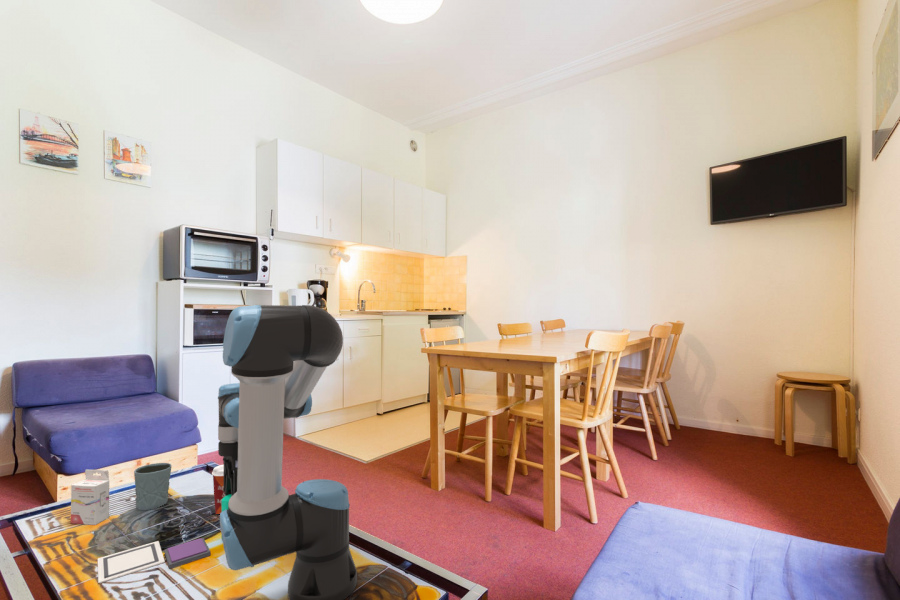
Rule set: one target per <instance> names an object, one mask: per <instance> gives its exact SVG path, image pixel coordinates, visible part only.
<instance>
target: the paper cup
mask: <svg viewBox="0 0 900 600" xmlns="http://www.w3.org/2000/svg"><path fill="white" fill-rule="evenodd" d="M211 475H212V478H213V479H212V480H213V481H212V483H213V496H214V497H213V499H214V500H213V501H214V510H215V511H214V512H215V515H216V514H220V513H221V512H222V499H223V497H225V492H224V491H223V489H224V464H220V465H217V466H215V467H214V468H213V470H212V472H211Z"/></svg>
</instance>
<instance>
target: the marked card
mask: <svg viewBox="0 0 900 600" xmlns="http://www.w3.org/2000/svg"><path fill="white" fill-rule="evenodd" d="M165 563H166V562H165V556H164V555H163V551H162V547H161V545H160V541H159V540H156V541H154V542H150V543H147V544H143V545H139V546H135V547H132V548H129V549H125V550H122V551H119V552H116V553H112V554H109V555H106V556H101V557H98V558H97V583H100V584H103V583H106V582H109V581H112V580H115V579H118V578H121V577H124V576H128V575H131V574H134V573H137V572H140V571H143V570H147V569H149V568H153V567H156V566H159V565H161V564H165Z"/></svg>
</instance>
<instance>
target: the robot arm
mask: <svg viewBox="0 0 900 600" xmlns="http://www.w3.org/2000/svg"><path fill="white" fill-rule="evenodd" d="M342 331H343V330H342V329H341V326H340V323H338V321H337V320H336V318H335V317H334V316H333V315H332V314H331V313H330V312H328V311H327V310H325V309H323V308H321V307H318V306H316V305H315V306H314V305H307V304H306V305H305V304H304V305H303V304H302V305H282V304H281V305H278V304H277V305H276V304H275V305H274V304H273V305H271V304H270V305H267V304H256V305H254V304H253V305H241V306H237V307H235V308H234V309H233V310H232V311H231V312H230V314H229V316H228V319H227V322H226V326H225V330H224V334H223V335H224V336H223V342H222V343H223V344H222V348H223V349H222V361H223V364H224V365H225V366H228V367H231V372H230V373H231V375H232V376H233V377H235V378H236V379H237V380H238V382H236V383H227V384H222V385H221V386H220V387H219V388H218V396H217V400H218V425H217V435H218V437H217V439H218V441H219V442H218V446H217V447H218V450H217V451H218V455H219V456H220V457H222V461H223V462H222V463H223V464H224V489H223V491H224V492H225V496H227V495H229V494H231V498H230V500H229V504H228V510H224V511H223V512H221V513H220V515H219V516H218V517H219V524H220V526H219V527H220V531H221V540H222V544H223V550H224V554H225V560H226V564H227V566H228V568H229V569H230V570H232V571H240V570H243V569H247V568H253V567H255V566H256V565H260V564H262V563H266V562H269V561H273V560H275V559H278V558H279V559H280V558H282V557H285V556H287V555H291V554H294V553H295V555H296V556H295V559H294V562H293V566H292V570H291V573H290V575H289V579H288V582H287V597H288V600H345V599H347V598H348V597H349V596H350V595H351V594H352V593H353V592H354V591H355V589H356V586H357V584H358V572H357V567H356V563H355V562H354V558H353V555H352V553H351V550H350V536H349V535H350V500H349V491H348V488H347V487H346V485H345V484H343V483H342V482H339V481H336V480H333V479H324V478H321V479H320V478H316V479H308V480H305V481H303V482H299V484H298V485H297V486H296V488H295V491H294V492H295V493H293V494H292V493H291V494H289V491H288V489H287V488H285V487H284V485H282V484H283V481H282V479H283V454H284V453H283V452H284V421H285V419H292V418H294V419H295V418H300V417H305V416H307V415H309V414H311V412H312V406H313V398H312V392H313V391H314V389H315V388H316V386H317V384H318V382H319V381H320V379H321V378H322V375H323V374H324V372H325V371H326V369H327V367H329V366H332V365H333V364H334V363H335V362H336V361H337V360H338V357H339V356H340V354H341V352H342V350H343V344H344V336H343V332H342ZM223 464H222V465H223Z"/></svg>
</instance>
